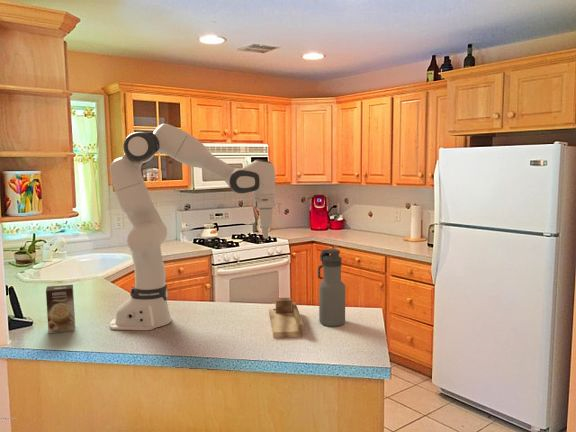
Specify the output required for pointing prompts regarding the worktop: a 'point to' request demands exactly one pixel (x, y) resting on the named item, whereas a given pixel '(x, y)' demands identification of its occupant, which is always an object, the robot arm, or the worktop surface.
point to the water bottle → (331, 289)
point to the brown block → (283, 305)
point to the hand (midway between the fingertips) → (265, 236)
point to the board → (286, 323)
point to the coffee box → (60, 308)
